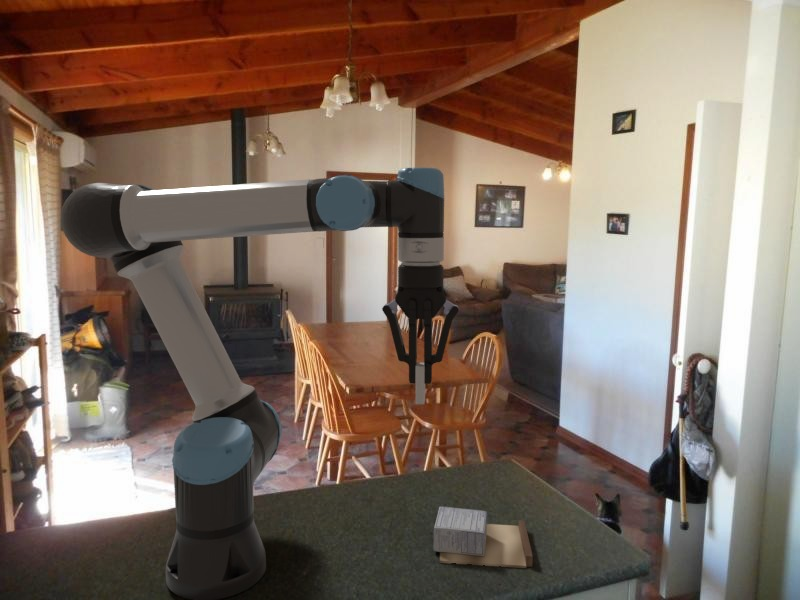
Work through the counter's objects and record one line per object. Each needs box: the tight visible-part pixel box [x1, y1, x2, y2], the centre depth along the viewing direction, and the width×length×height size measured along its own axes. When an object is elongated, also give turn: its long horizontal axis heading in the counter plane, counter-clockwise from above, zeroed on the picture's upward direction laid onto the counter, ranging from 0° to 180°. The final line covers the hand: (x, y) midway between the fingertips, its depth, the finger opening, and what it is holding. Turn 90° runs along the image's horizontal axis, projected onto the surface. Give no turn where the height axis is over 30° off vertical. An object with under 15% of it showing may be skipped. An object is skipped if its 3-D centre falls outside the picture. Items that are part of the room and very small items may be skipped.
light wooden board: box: [439, 523, 527, 569], centre depth 108 cm, size 14×13×1 cm
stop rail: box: [517, 519, 534, 568], centre depth 107 cm, size 1×12×2 cm, turn 175°
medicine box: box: [432, 506, 488, 556], centre depth 107 cm, size 8×4×9 cm
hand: (420, 401), depth 106 cm, fingers closed
